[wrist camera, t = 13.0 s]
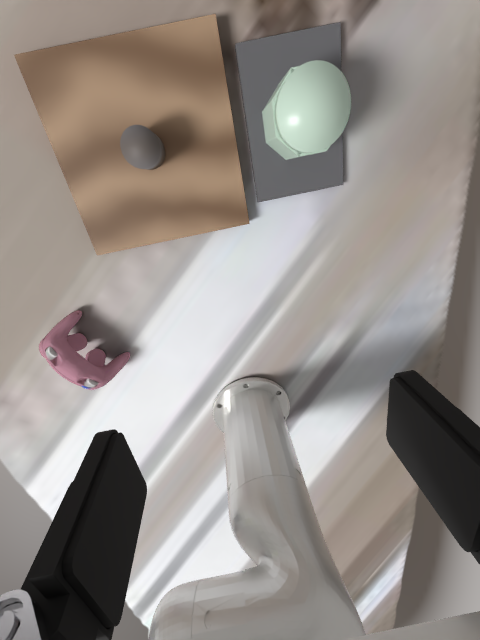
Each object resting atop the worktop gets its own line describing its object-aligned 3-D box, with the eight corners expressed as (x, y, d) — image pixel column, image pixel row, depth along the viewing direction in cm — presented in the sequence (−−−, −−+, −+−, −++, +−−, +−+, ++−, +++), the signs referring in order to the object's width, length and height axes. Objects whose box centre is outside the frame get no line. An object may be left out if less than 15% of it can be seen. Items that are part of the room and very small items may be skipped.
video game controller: (64, 316, 40) (23, 353, 35) (78, 304, 37) (36, 343, 32) (119, 362, 44) (89, 401, 39) (136, 354, 41) (106, 395, 36)
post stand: (247, 221, 35) (254, 229, 30) (101, 252, 35) (84, 264, 30) (215, 22, 27) (216, -13, 22) (23, 61, 27) (-18, 34, 22)
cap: (324, 75, 29) (352, 50, 23) (327, 151, 32) (352, 145, 26) (258, 88, 29) (271, 67, 23) (268, 163, 32) (280, 160, 26)
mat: (340, 184, 34) (343, 184, 33) (257, 201, 34) (258, 202, 33) (337, 25, 28) (340, 22, 27) (235, 46, 28) (235, 43, 27)
